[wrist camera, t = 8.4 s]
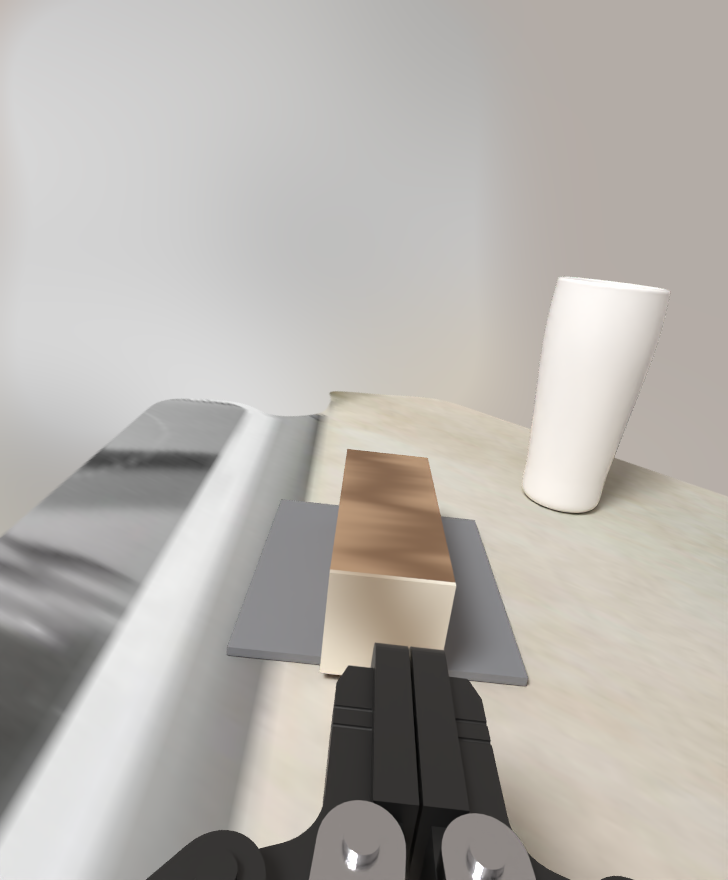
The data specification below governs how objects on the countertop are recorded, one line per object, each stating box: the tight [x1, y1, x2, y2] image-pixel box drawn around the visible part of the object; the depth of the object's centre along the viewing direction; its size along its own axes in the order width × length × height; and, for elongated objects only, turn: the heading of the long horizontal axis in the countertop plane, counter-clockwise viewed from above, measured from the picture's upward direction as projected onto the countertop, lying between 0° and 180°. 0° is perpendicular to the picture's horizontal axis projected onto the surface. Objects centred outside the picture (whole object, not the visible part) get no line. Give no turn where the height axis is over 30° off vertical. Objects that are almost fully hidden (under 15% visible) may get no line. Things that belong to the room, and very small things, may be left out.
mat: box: [227, 499, 528, 686], centre depth 28 cm, size 12×13×1 cm
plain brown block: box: [320, 449, 456, 675], centre depth 26 cm, size 4×4×12 cm
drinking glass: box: [522, 276, 671, 513], centre depth 37 cm, size 7×7×15 cm
